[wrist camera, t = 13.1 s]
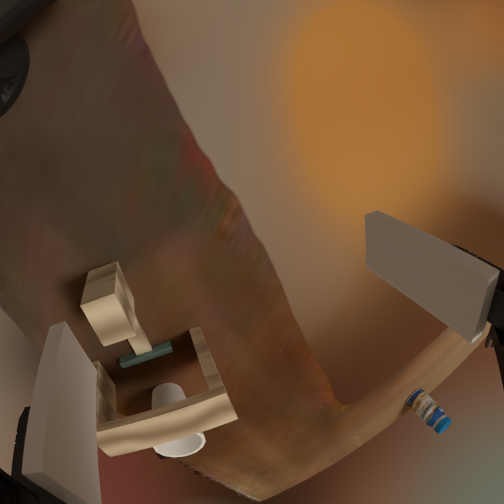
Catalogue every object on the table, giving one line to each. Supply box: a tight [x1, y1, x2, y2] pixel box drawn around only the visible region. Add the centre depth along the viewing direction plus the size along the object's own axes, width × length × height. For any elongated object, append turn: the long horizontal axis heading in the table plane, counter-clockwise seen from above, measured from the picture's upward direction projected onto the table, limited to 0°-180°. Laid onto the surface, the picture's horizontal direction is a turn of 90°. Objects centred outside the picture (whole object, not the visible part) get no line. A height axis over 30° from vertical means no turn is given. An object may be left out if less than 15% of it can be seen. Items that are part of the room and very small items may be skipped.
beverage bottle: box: [407, 389, 452, 434], centre depth 92 cm, size 8×8×20 cm
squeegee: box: [80, 261, 173, 368], centre depth 44 cm, size 18×10×10 cm, turn 12°
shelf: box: [92, 326, 238, 457], centre depth 46 cm, size 7×22×16 cm, turn 102°
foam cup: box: [152, 383, 206, 457], centre depth 52 cm, size 10×9×13 cm
